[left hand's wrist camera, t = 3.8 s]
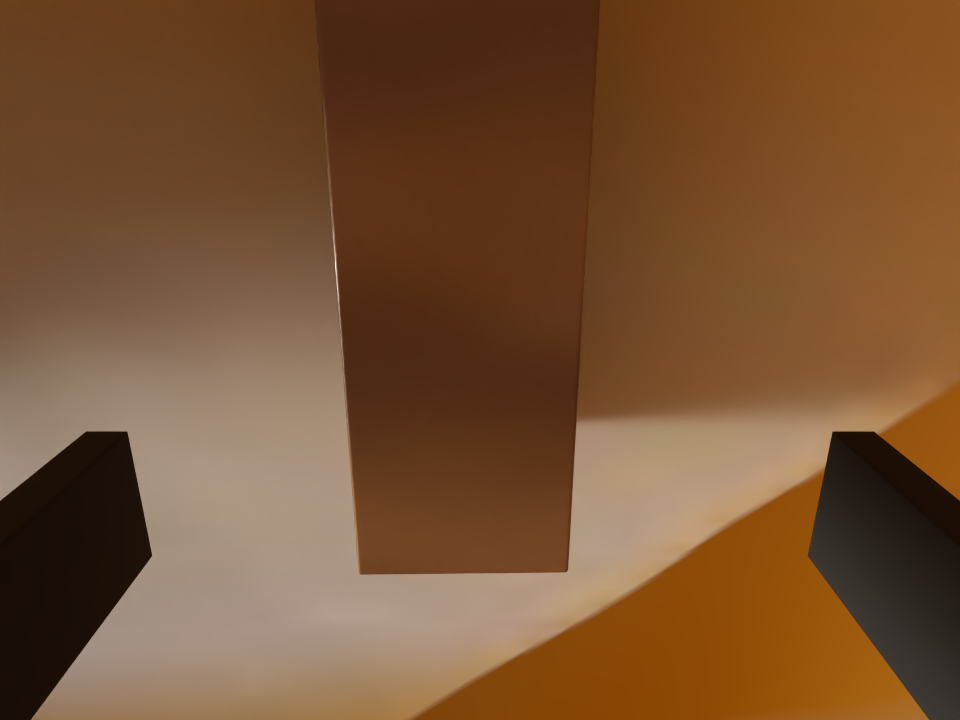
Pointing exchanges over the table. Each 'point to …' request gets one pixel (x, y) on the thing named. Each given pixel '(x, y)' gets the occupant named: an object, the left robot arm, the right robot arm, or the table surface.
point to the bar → (459, 271)
